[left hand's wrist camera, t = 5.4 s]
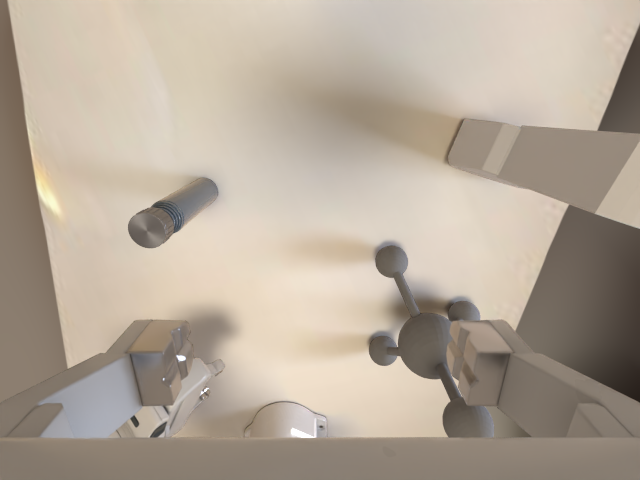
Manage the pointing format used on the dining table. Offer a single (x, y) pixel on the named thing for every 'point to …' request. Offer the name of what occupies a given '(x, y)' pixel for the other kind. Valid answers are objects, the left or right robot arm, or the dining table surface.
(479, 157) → the electronic device
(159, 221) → the cap
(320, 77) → the dining table surface
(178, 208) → the bottle
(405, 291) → the molecular model
